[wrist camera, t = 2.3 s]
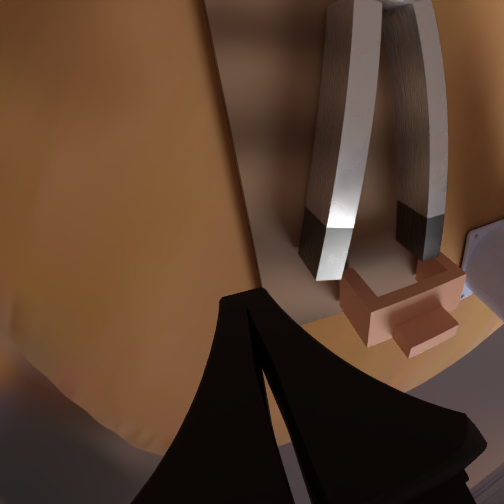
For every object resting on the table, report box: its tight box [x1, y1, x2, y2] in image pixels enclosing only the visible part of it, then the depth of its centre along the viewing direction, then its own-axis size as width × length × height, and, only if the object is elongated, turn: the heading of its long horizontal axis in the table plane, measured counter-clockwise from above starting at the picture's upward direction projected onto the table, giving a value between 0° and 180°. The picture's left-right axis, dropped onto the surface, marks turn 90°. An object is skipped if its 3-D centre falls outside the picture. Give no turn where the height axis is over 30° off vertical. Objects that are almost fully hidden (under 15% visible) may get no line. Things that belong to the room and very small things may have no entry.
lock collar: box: [339, 252, 467, 359], centre depth 18 cm, size 3×8×6 cm, turn 100°
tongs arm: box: [298, 0, 382, 281], centre depth 14 cm, size 14×2×3 cm, turn 175°
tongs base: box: [376, 0, 448, 262], centre depth 13 cm, size 19×4×4 cm, turn 10°
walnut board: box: [203, 0, 418, 325], centre depth 16 cm, size 25×14×1 cm, turn 10°
